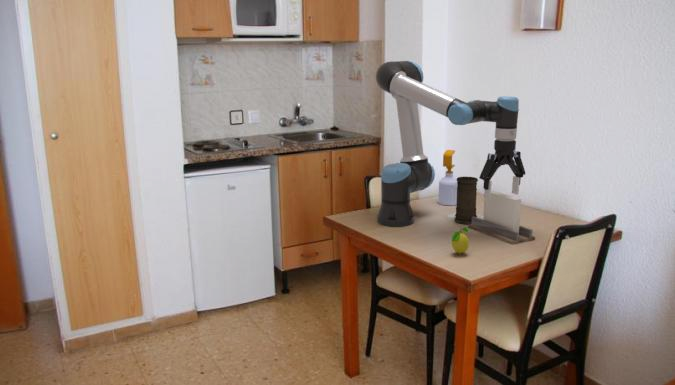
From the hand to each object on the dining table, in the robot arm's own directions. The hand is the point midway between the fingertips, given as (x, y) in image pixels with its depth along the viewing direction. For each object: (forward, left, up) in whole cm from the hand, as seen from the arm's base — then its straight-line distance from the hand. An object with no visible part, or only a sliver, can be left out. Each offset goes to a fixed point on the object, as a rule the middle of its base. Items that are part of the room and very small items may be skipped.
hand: (501, 195), depth 209 cm
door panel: (0, 0, -14) cm, 14 cm away
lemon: (-28, -11, -15) cm, 34 cm away
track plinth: (0, 0, -15) cm, 15 cm away
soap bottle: (+11, +46, -15) cm, 49 cm away
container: (-1, +19, -15) cm, 24 cm away
